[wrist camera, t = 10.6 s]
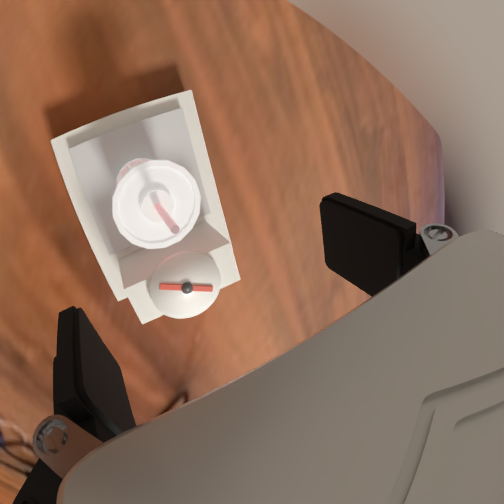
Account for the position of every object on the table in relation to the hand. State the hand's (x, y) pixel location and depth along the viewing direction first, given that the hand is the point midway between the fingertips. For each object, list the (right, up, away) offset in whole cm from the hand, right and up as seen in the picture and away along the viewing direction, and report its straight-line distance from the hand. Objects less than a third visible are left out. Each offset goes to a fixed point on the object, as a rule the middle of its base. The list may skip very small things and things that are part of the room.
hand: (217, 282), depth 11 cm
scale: (-10, +7, +20) cm, 24 cm away
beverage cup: (-9, +7, +17) cm, 20 cm away
